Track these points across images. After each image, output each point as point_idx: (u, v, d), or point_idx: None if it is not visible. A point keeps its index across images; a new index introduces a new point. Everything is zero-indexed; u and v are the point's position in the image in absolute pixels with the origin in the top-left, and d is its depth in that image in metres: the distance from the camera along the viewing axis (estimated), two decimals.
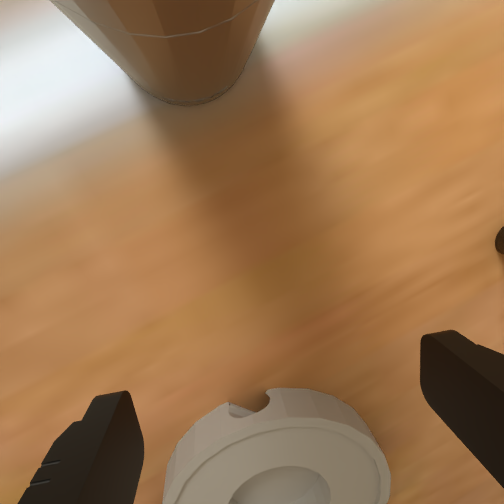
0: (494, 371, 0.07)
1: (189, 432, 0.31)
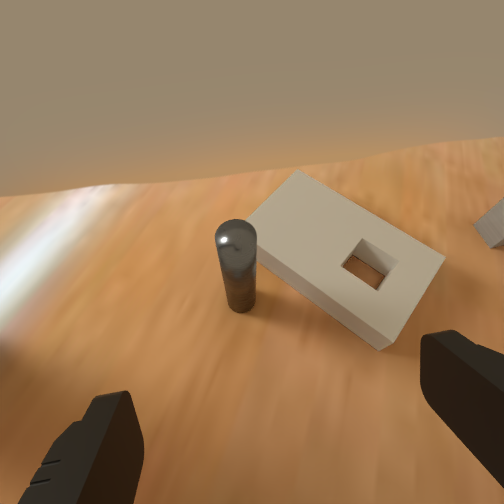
0: (494, 371, 0.07)
1: None
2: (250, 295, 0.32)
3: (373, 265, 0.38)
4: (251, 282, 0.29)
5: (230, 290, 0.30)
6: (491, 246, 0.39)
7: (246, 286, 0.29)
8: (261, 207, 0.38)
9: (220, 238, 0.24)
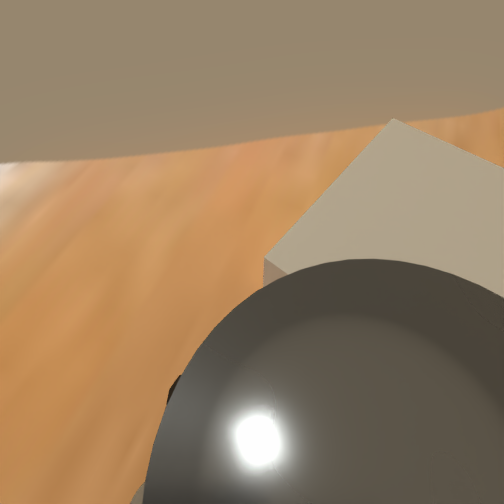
0: None
1: None
2: None
3: None
4: None
5: None
6: None
7: None
8: (322, 200, 0.15)
9: None
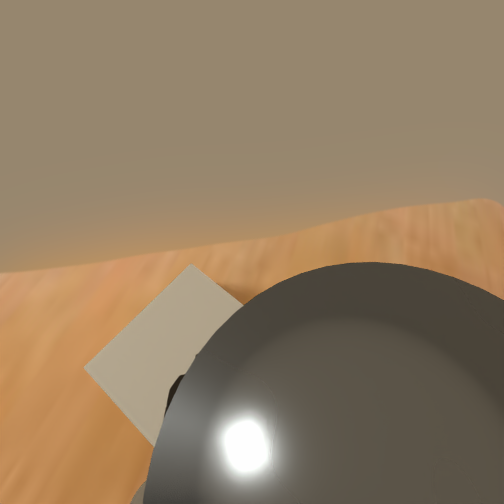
0: None
1: None
2: None
3: None
4: None
5: None
6: None
7: None
8: (128, 328, 0.26)
9: None
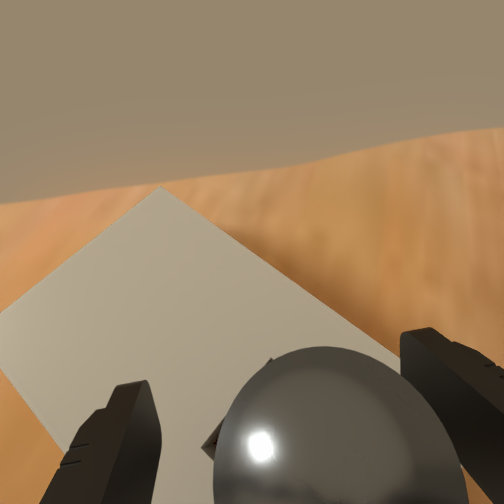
0: (465, 367, 0.07)
1: None
2: None
3: None
4: None
5: None
6: None
7: None
8: (54, 274, 0.17)
9: (246, 489, 0.04)
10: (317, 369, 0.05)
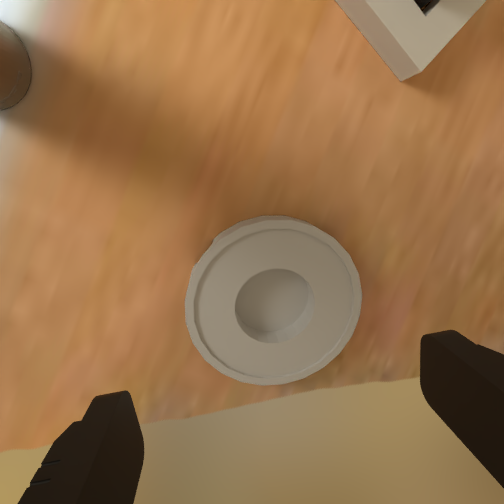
0: (494, 371, 0.07)
1: None
2: None
3: None
4: None
5: None
6: None
7: None
8: None
9: None
10: None
